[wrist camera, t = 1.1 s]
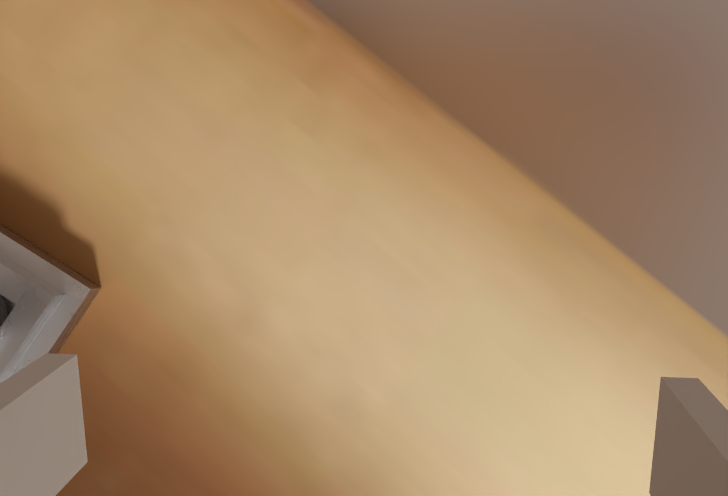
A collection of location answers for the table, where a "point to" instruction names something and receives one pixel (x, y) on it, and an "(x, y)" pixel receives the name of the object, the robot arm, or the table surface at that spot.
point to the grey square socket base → (36, 302)
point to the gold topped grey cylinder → (2, 311)
